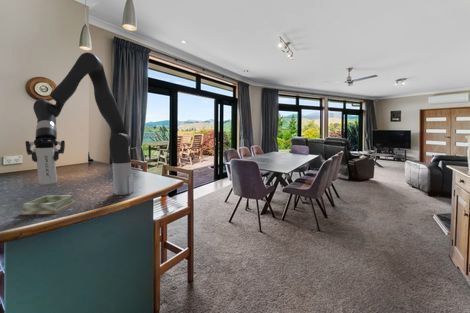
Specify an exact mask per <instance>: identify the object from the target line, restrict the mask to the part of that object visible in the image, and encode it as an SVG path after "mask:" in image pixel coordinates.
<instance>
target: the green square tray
mask: <svg viewBox="0 0 470 313" xmlns="http://www.w3.org/2000/svg"><path fill="white" fill-rule="evenodd" d="M74 199H75V198H74V195H73V194H67V195H66V194H61V195H60V194H59V195H58V194H57V195H43V196H40V197H39V198H35V199H33V200H30V201H27V202H24V203H22V208H23V210H20V212H19V213H20V215H23V216H24V215H53V214H54V215H56V214H58V213H60V212H62V211H64V210H66V209H68V208H70V207H72V206H75V205H76V204H77V200H74Z"/></svg>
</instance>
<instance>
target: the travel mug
mask: <svg viewBox="0 0 470 313" xmlns="http://www.w3.org/2000/svg"><path fill="white" fill-rule="evenodd" d="M33 142H35V145H34V148H35V149H36V160H37V162H36V168H37V179H38V186H39V187H41V188H44V187H47V188H49V187H53V186H56V185H58V179H57V167H56V161H55V159H54V146H53V145H54V143H53V142H52V141H43V140H35V139H34V141H33Z"/></svg>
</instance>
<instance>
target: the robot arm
mask: <svg viewBox="0 0 470 313" xmlns="http://www.w3.org/2000/svg"><path fill="white" fill-rule="evenodd" d="M87 75H88V76H89V78H90V80H91V81H90V82H91V83H92V86H93V95H94V100H95V103H96V106H97V108H98V111H99V113H100V115H101V116H102V117H103V119H104V120H105V122H106V123H107V125H108V126H109V128H110V130H111V134H112V135H111V136H110V138H109V153H110V154H109V156H110V158H111V161H112V162H111V163H112V181H113V195H116V196H124V195H125V196H126V195H130V194H132V193H133V192H135V191H134V188H135V186H134V175H133V174H132V159H131V158H132V157H131V156H130V150H129V148H130V147H131V145H132V138H131V136H130V134H129V133H128V131H127V128H126V127H125V125H124V121H123V118H122V115H121V112H120V110H119V107H118V103H117V101H116V98H115V96H114V93H113V91H112V89H111V87H110V84H109V82H108V80H107V77H106V73H105V68H104V64H103V63H102V61H101V59H100V58H98V57H97V56H96V55H95V54H93V53H91V52H87V51H86V52H84V53H81V54H80V55H79V56H78V58H77V60H76V61H75V62H74V65H73V66H72V67H71V69H70V71H68V73H67V75H65V77H64V78H63V79H62V80H61V82H59V84H58V85H57V86H56V87H55V88H54V89H53V90H51V92H50V93H49V97H50V98H51V99H52V100H54V101H55V104H54V103H52V102H50V101H48V100H47V99H44V98H39V99H37V100H35V101H34V103H33V106H32V107H33V112H34V114H35V117H36V119H37V121H36V127H35V139H34V140H43V141H52V142H53V143H54V145H53V146H54V159H55V162H58V160H60V156H59V155H60V154H64V153H65V147H66V141H65V140H61V141H58V140H57V137H58V136H57V134H58V129H57V119H56V118H58V117H59V116H60V114H61V112H62V110H63V107H64V105H65V104H66V102H67V101H68V100H70V98H71V97H72V96H73V95H74V93H75V92H76V91H77V89H78V87H79V85H80V83H81V82H82V80H83V79H84V77H85V76H87ZM58 145H59V148H57V146H58ZM33 146H35V142H34V141H31V142H30V141H29V140H26V141H25V149H26V154H27V156H28V155H29V156H30V155H31V160H32V162H34V163H37V160H36V149H35V147H34V148H33V149H32V147H33ZM31 149H32V150H31Z"/></svg>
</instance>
